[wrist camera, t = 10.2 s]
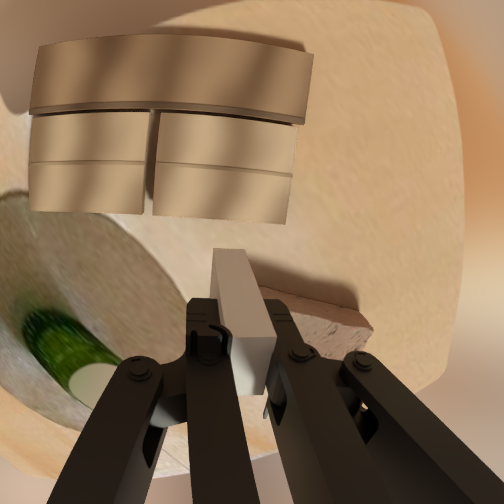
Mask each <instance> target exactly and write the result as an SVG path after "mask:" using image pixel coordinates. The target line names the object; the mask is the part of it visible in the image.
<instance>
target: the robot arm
mask: <svg viewBox="0 0 504 504" xmlns="http://www.w3.org/2000/svg"><path fill="white" fill-rule="evenodd" d="M265 386H266V388H267V391H268V398H267V402H266V406H265V409H264V413H263V419H266V418H267V414H268V413H269V417H270V421H271V424H272V428H273V432H274V435H275V439H276V443H277V446H278V450H279V453H280V457H281V460H282V464H283V467H284V471H285V475H286V478H287V481H288V485H289V488H290V492H291V495H292V499H293V502H294V504H504V482H503V481H502V480H501V479H500V478H499V477H498V476H496V475H495V473H493V471H491V469H490V468H489V467H487V466H486V465H485V463H483V462H482V461H481V460H480V459H479V458H478V457H477V456H476V455H475V454H474V453H473V452H472V451H471V450H470V449H469V448H468V447H467V446H466V445H465V444H464V443H463V442H462V441H461V440H460V439H459V438H458V437H457V436H456V435H455V434H454V433H453V432H452V431H451V430H450V429H449V428H448V427H447V426H446V425H445V424H444V423H443V422H442V421H441V420H440V419H439V418H438V417H437V416H436V415H435V414H434V413H433V412H432V411H430V409H429V408H427V407H426V406H425V405H424V404H423V403H422V402H421V401H420V400H419V399H418V398H417V397H416V396H415V395H414V394H413V393H412V392H411V391H410V390H409V389H408V388H407V387H406V386H405V385H404V384H403V383H402V382H401V381H400V380H399V379H398V378H397V377H395V376H394V375H393V374H392V373H391V372H390V371H389V370H388V369H387V368H386V367H385V366H384V365H383V364H382V363H381V362H380V361H379V360H378V359H377V358H376V357H374V356H373V355H371V354H369V353H367V352H364V351H351V352H349V353H347V354H346V355H345V357H344V359H343V361H342V360H334V359H328V358H324V357H321V356H320V354H319V352H318V351H317V350H316V348H314V347H313V346H311V345H309V344H306V343H305V342H304V340H303V338H302V336H301V334H300V332H299V330H298V328H297V326H296V324H295V322H294V319H293V317H292V315H291V313H290V311H289V309H288V307H287V306H286V305H285V304H284V303H283V302H282V301H281V300H279V299H263V298H262V295H261V293H260V290H259V287H258V285H257V282H256V279H255V277H254V274H253V271H252V269H251V266H250V263H249V260H248V258H247V255H246V252H245V250H241V249H222V248H213V261H212V273H211V287H210V298H192V299H191V300H190V301H189V302H188V304H187V311H186V349H185V352H184V354H183V355H182V356H181V357H180V358H179V359H177V360H175V361H173V362H170V363H166V364H161V365H160V364H159V363H158V362H156V361H155V360H154V359H151V358H149V357H145V356H134V357H130V358H128V359H125V360H123V361H122V362H121V363H120V365H119V366H118V367H117V369H116V371H115V372H114V374H113V376H112V378H111V379H110V381H109V383H108V385H107V386H106V388H105V390H104V392H103V393H102V395H101V397H100V399H99V401H98V402H97V404H96V406H95V408H94V410H93V411H92V413H91V415H90V417H89V419H88V421H87V423H86V424H85V426H84V428H83V430H82V432H81V434H80V436H79V438H78V440H77V442H76V444H75V445H74V447H73V449H72V451H71V453H70V455H69V457H68V459H67V461H66V463H65V465H64V467H63V469H62V471H61V474H60V476H59V478H58V480H57V482H56V484H55V486H54V488H53V490H52V493H51V495H50V497H49V499H48V501H47V504H144V503H145V499H146V496H147V492H148V489H149V486H150V483H151V480H152V476H153V473H154V470H155V467H156V464H157V460H158V457H159V454H160V451H161V448H162V445H163V441H164V438H165V435H166V432H167V429H168V426H172V425H176V424H180V423H184V422H187V427H188V446H189V462H190V474H191V487H192V498H193V504H260V500H259V496H258V492H257V488H256V483H255V479H254V474H253V470H252V465H251V460H250V456H249V451H248V446H247V441H246V437H245V432H244V427H243V422H242V417H241V411H240V406H239V401H238V396H246V395H263V394H264V390H265ZM363 403H364V404H365V405H366V406H367V407H368V409H365V408H363V407H362V406H361V405H362V404H363Z"/></svg>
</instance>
